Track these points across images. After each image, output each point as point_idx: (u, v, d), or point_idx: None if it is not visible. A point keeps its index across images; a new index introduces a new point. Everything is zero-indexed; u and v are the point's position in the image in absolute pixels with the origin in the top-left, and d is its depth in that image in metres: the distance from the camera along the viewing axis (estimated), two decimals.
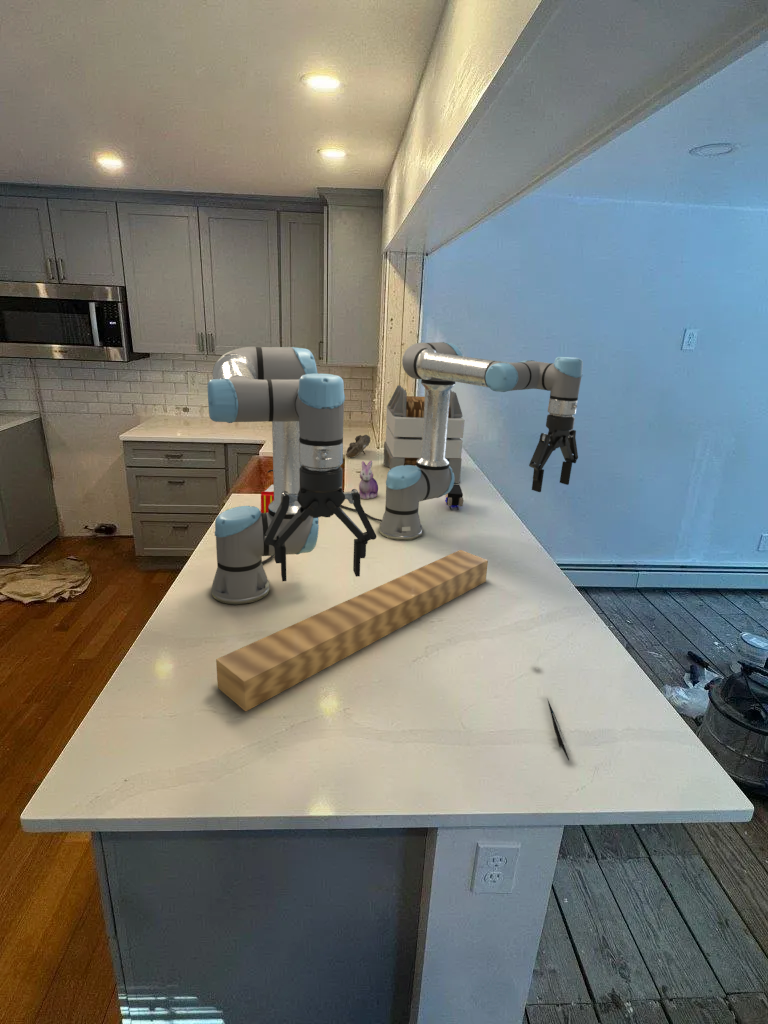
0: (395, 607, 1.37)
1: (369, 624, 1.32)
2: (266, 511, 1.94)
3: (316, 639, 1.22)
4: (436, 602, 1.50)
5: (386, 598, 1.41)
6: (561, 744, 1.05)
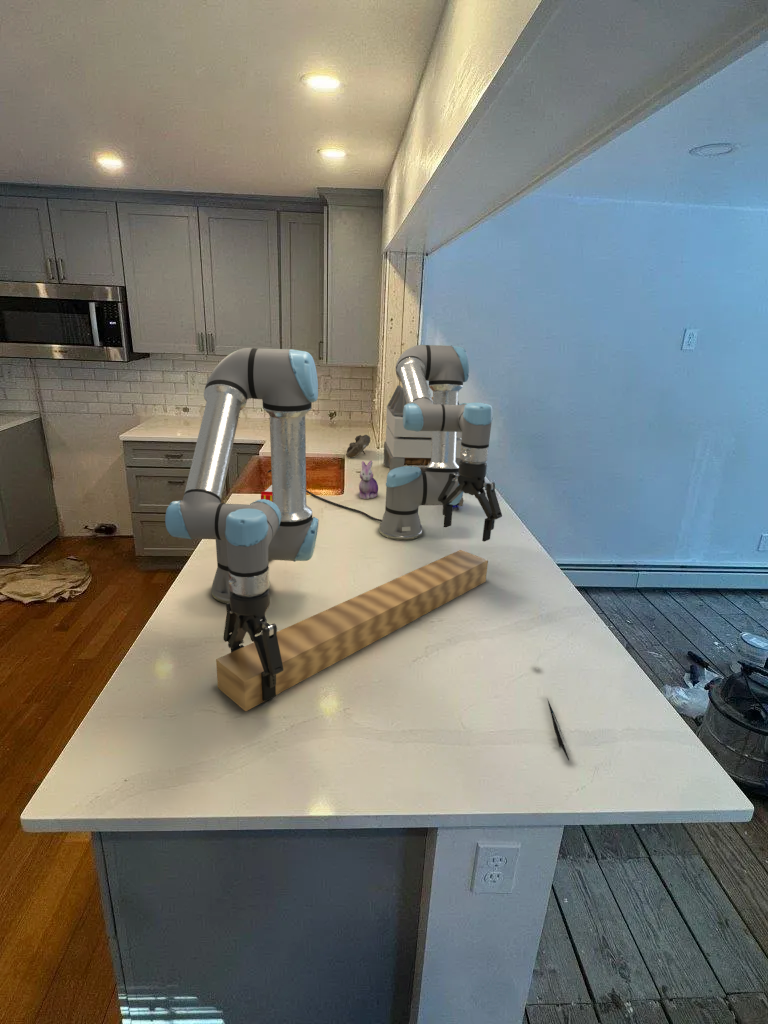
0: (395, 607, 1.37)
1: (369, 624, 1.32)
2: None
3: (316, 639, 1.22)
4: (436, 602, 1.50)
5: (386, 598, 1.41)
6: (561, 744, 1.05)
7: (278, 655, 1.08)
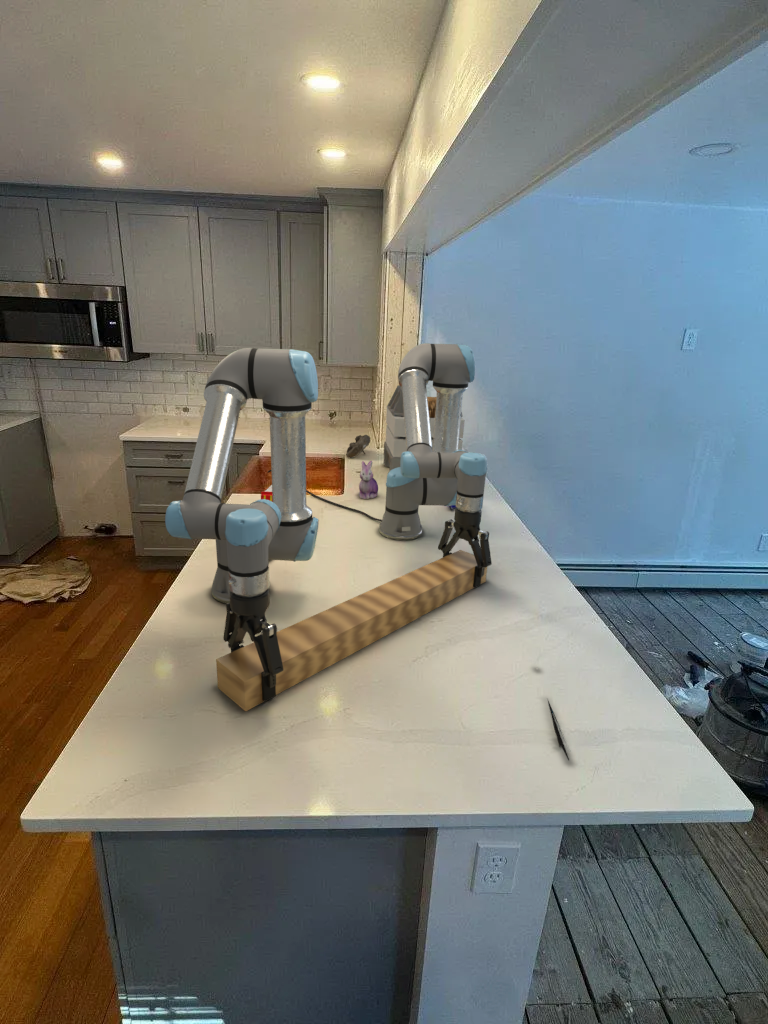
0: (395, 607, 1.37)
1: (369, 624, 1.32)
2: None
3: (316, 639, 1.22)
4: (436, 602, 1.50)
5: (386, 598, 1.41)
6: (561, 744, 1.05)
7: (278, 655, 1.08)
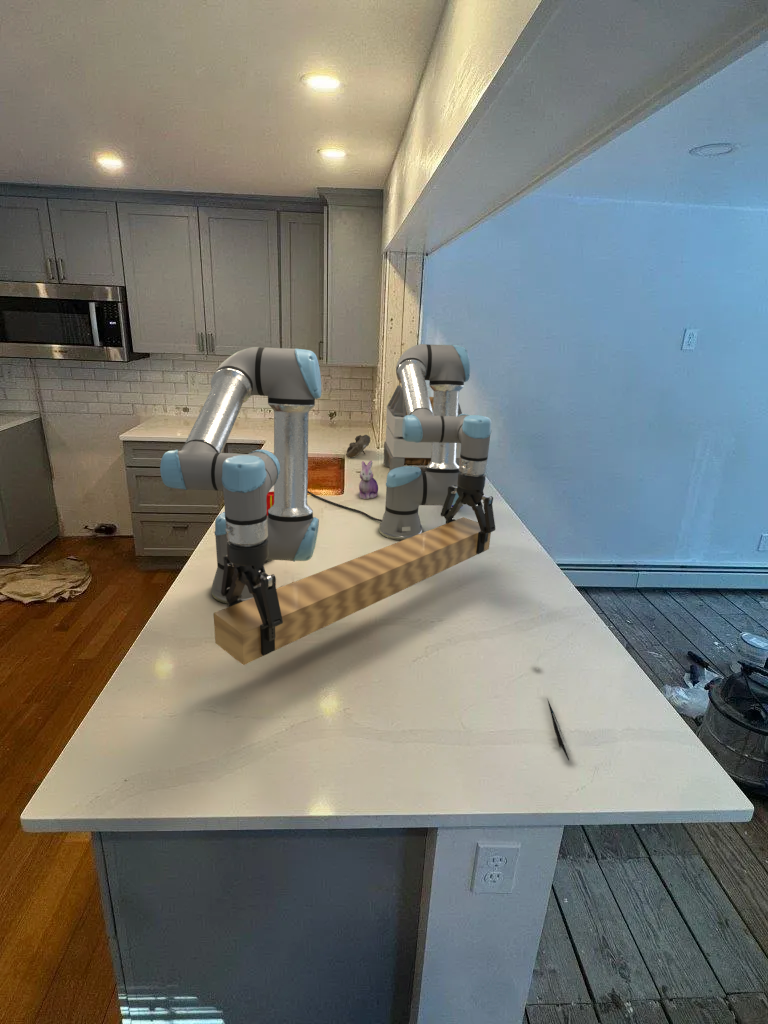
0: (397, 568, 1.34)
1: (371, 584, 1.29)
2: None
3: (316, 596, 1.19)
4: (438, 566, 1.47)
5: (388, 560, 1.37)
6: (561, 744, 1.05)
7: (277, 607, 1.05)
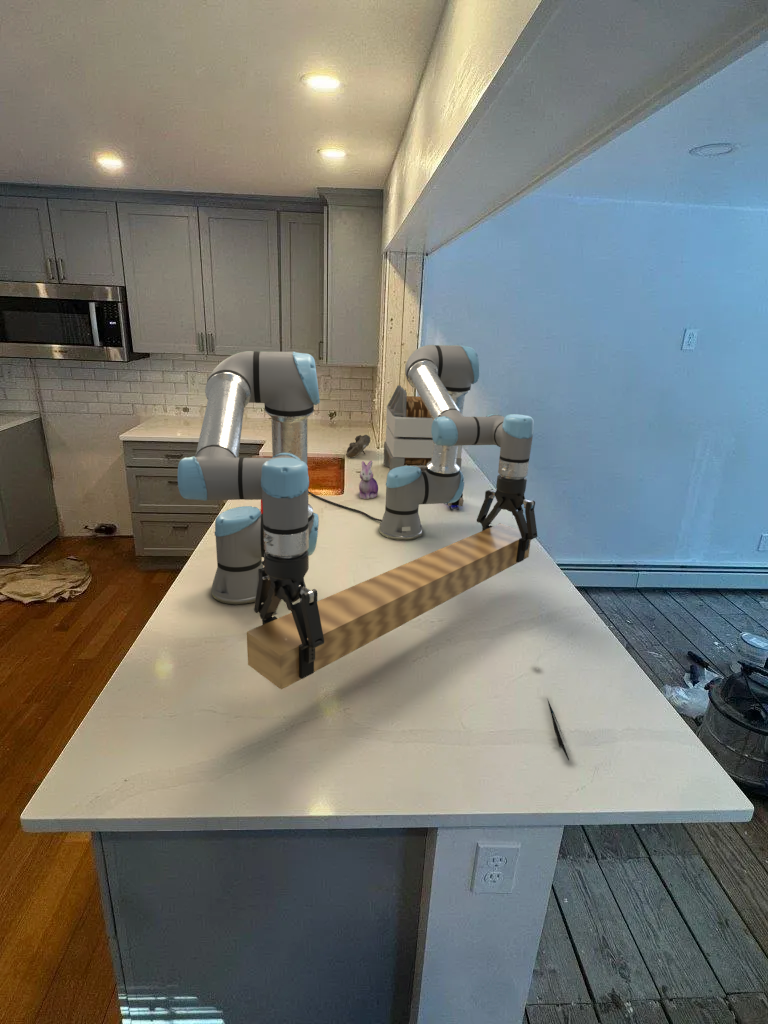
0: (438, 580, 1.24)
1: (412, 597, 1.19)
2: None
3: (356, 611, 1.09)
4: (479, 576, 1.37)
5: (428, 570, 1.28)
6: (561, 744, 1.05)
7: (319, 625, 0.95)
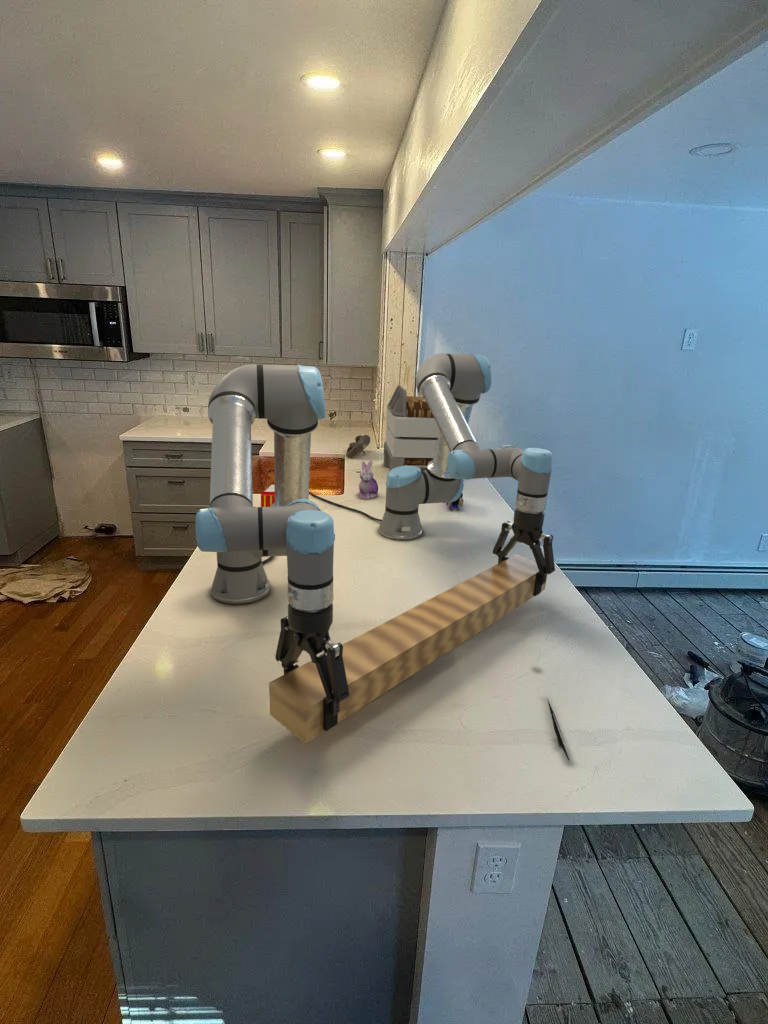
0: (458, 620, 1.23)
1: (433, 640, 1.17)
2: None
3: (378, 658, 1.08)
4: (497, 613, 1.36)
5: (447, 610, 1.26)
6: (561, 744, 1.05)
7: (344, 679, 0.94)
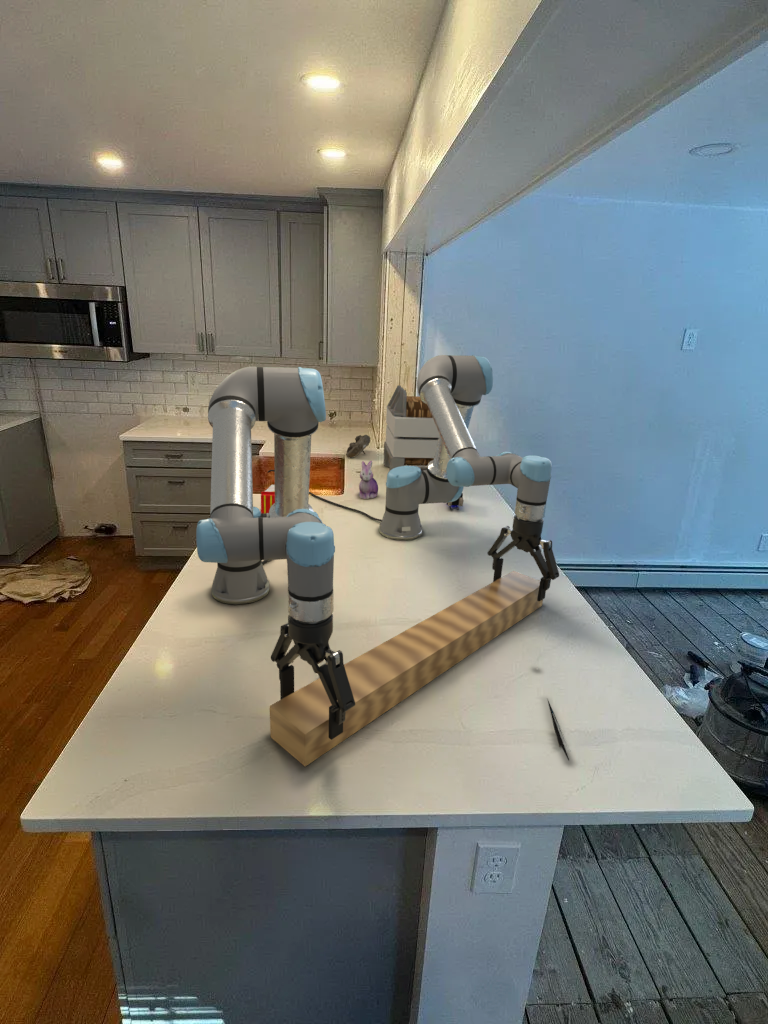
0: (456, 640, 1.25)
1: (431, 660, 1.19)
2: (266, 511, 1.94)
3: (377, 680, 1.10)
4: (495, 631, 1.38)
5: (445, 629, 1.28)
6: (561, 744, 1.05)
7: (348, 687, 0.94)
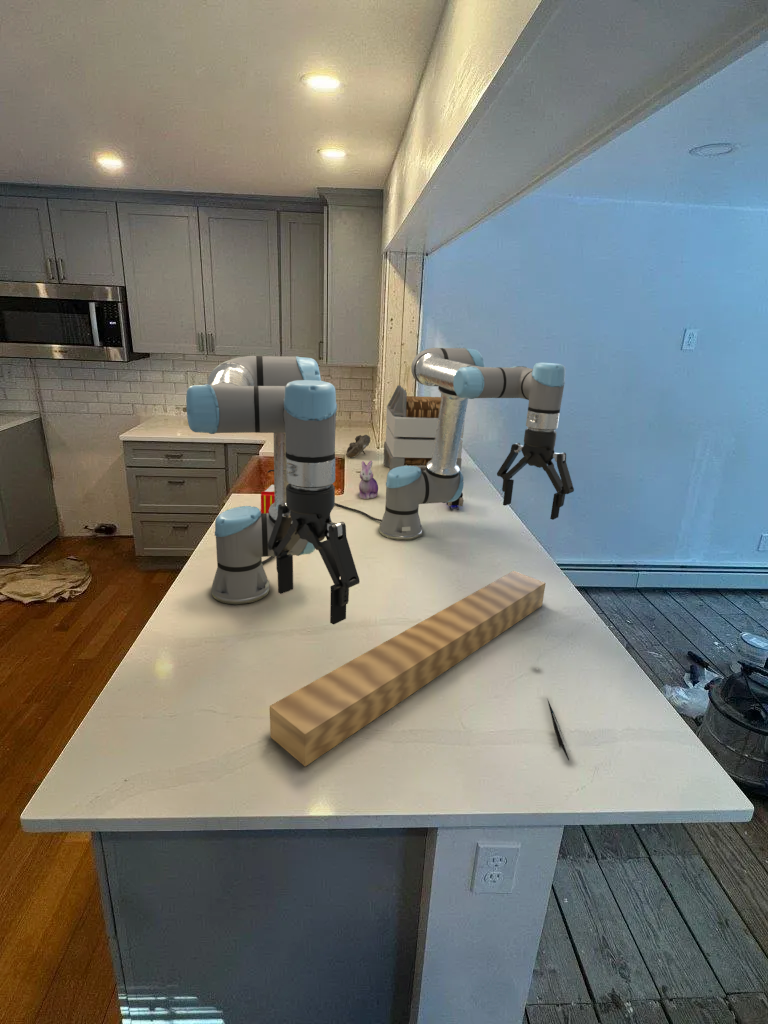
0: (456, 640, 1.25)
1: (431, 660, 1.19)
2: (266, 511, 1.94)
3: (377, 680, 1.10)
4: (495, 631, 1.38)
5: (445, 629, 1.28)
6: (561, 744, 1.05)
7: (351, 562, 0.86)
